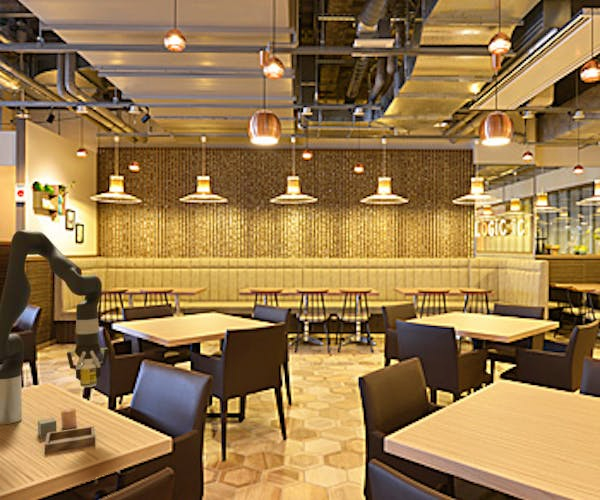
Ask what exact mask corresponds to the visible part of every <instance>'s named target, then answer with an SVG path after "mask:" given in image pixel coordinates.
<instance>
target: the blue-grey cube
mask: <svg viewBox="0 0 600 500" xmlns="http://www.w3.org/2000/svg"><path fill="white" fill-rule="evenodd" d="M56 431H58V430H57V420H56V418H54V417H48V418H44V419H43V418H42V419H39V420H37V435H38V436H39V437H40V439H43V438H46V436H47V433H49V432H56Z"/></svg>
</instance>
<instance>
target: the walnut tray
mask: <svg viewBox="0 0 600 500" xmlns="http://www.w3.org/2000/svg"><path fill="white" fill-rule="evenodd" d="M95 428H96V427H95V425H92V426H85V427H79V428H70V429H62V430H57V431H56V432H49V433H47V436H46V437H45V441H44V454H46V455H47V454H52V453H57V452H62V451H63V452H64V451H65V452H66V451H71V450H76V449H83V448H89V447H95V446H96V435H95V430H96V429H95Z"/></svg>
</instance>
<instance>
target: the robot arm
mask: <svg viewBox="0 0 600 500" xmlns="http://www.w3.org/2000/svg"><path fill="white" fill-rule="evenodd" d="M32 255H33V256H36V255H38V256H41V257H42V258H44V259H45V260H47V262H48V265H49V269H50V270H51V271H52V273H53V274H54V275H56V277H58V278H59V279H61V280H62V281H63V282H64V284H65V285H66V286H67V289H69V290H70V292H71V293H72V294H73V295H75V296H79V297H84V300H83V301H81V302H79V303H77V304H76V308H75V309H76V310H75V311H76V314H75V315H76V316H75V317H76V318H75V319H76V320H75V321H76V322H75V346H76V347H75V349H74V350H70V351H69V350H68V351H67V352H66V357H67V361H68V364H69V365H68V366H69V368H70V369H71V370H75V379H76V380H78V381H80V366H81V365H82V364H83V363H82V361H83V359H92V358H93V360H94V363H95V364H96V376H97V379H99V377H101V375H102V374H101V370H102V369H101V368H102V367H103V366H106V364H107V359H108V353H109V348H108V347H101V346H100V334H99V333H100V327H99V325H100V324H99V319H98V315H99V314H98V311H99V309H98V307H99V302H100V300H101V299H100V298H101V296H102V295H101V294H102V289H103V283H102V281H101V279H100V278H99V276H97V275H94V274H91V275H90V274H89V275H82V272H83V271H82V269H81V267H79V265H77V264H76V263H74V262H73V261H72V260H70V259H69V258H68V257H67V256H65V255H64V254H63V253H62V252H61V251H60V250H59V249H58V248H57V246H56V245H55V244H54V243H53V242H52V241H51V239H50V238H49V237H48V236H47V235H46V234H44V232H42V231H40V230H39V231H38V230H27V229H26V230H25V229H23V230H22V229H20V230H17V231H16V232H15V233H14V234H13V236H12V238H11V241H10V249H9V257H8V266H7V271H6V276H5V282H4V285H3V289H2V293H1V298H0V361H3V362H2V364H0V426H1V425H9V424H13V423H17V422H20V421H22V419H23V406H22V405H23V401H22V400H23V399H22V398H23V397H22V369H23V368H24V367H23V366H24V353H25V352H24V351H25V350H24V347H25V346H24V341H23V339H22V337H21V336H20V335H19V334H18V333H11V331H12V329H13V326H14V325H15V323H16V322H17V321H18V319H19V318H20V317H21V316H22V315H23V313H24V312H25V310H26V309H27V307H28V305H29V301H30V297H31V294H32V293H31V292H32V286H31V284H30V280H29V278H28V275H27V273H26V261H27V257H28V256H32ZM100 352H101V354H102V360H101V361H99V358H98V357H97V356H98V355H99V353H100ZM75 354H76V356H78V359H77V362H76V364H74V361H73V357H74V355H75Z"/></svg>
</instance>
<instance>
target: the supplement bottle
mask: <svg viewBox="0 0 600 500" xmlns="http://www.w3.org/2000/svg"><path fill="white" fill-rule="evenodd" d="M96 367H97V366H96V364H95V362H94V360H93V358H92V359H83V361H82V364H81V366H80V380H79V381H80V382H79V385H80V386H79V387H81V388H91V387H94V386H96V385H97V380H98V378H97V376H96Z"/></svg>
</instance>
